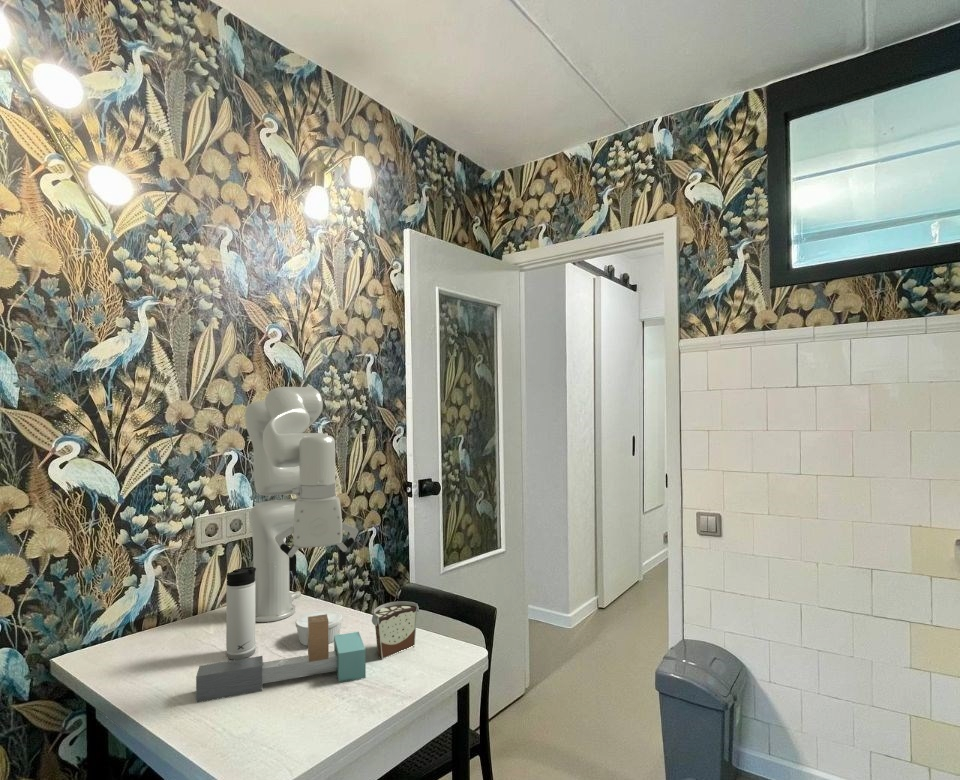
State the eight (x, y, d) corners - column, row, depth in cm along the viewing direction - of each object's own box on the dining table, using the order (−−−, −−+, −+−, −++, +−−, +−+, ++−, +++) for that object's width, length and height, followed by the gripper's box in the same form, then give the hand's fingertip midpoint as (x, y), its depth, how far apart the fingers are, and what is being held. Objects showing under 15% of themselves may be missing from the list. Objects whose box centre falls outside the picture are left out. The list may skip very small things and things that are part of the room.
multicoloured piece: (252, 686, 112) (252, 631, 112) (253, 677, 115) (253, 624, 116) (347, 669, 118) (347, 617, 119) (345, 661, 122) (345, 611, 122)
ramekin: (297, 652, 130) (297, 629, 130) (293, 635, 140) (293, 614, 140) (345, 643, 134) (345, 622, 134) (338, 627, 144) (338, 607, 145)
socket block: (338, 682, 115) (338, 653, 115) (334, 662, 124) (334, 635, 124) (365, 678, 116) (365, 649, 117) (359, 658, 126) (358, 631, 126)
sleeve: (196, 702, 108) (196, 676, 108) (199, 690, 112) (199, 665, 112) (261, 690, 112) (261, 665, 112) (262, 679, 116) (262, 655, 117)
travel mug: (245, 661, 125) (246, 572, 126) (220, 659, 127) (220, 571, 127) (262, 649, 131) (262, 565, 132) (237, 647, 133) (237, 563, 133)
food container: (404, 637, 137) (403, 597, 137) (419, 644, 133) (419, 602, 133) (361, 653, 128) (361, 610, 129) (376, 661, 124) (376, 616, 124)
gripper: (275, 497, 113) (275, 581, 112) (360, 492, 119) (360, 571, 118) (275, 492, 120) (275, 571, 119) (355, 487, 126) (356, 562, 125)
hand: (317, 571), depth 119 cm, fingers open, 9 cm apart
